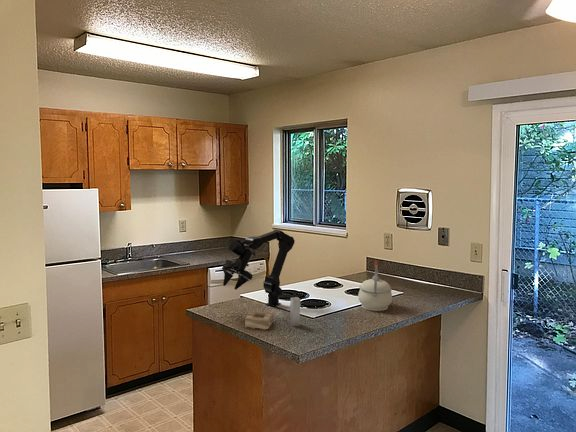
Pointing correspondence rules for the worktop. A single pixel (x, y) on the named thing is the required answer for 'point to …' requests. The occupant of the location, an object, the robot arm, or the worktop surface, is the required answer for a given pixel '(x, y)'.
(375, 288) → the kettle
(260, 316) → the socket block
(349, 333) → the worktop surface
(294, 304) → the square bit
